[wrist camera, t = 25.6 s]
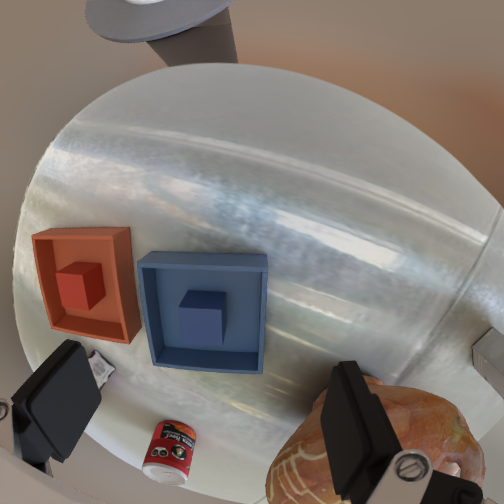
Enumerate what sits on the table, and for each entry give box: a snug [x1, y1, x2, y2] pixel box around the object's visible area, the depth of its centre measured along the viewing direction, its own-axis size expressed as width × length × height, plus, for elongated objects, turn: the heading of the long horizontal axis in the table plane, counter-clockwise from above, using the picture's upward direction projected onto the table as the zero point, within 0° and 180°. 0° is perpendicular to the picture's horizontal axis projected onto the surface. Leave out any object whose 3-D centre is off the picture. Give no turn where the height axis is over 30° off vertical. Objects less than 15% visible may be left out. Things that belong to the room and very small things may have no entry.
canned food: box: [142, 421, 196, 485], centre depth 37 cm, size 8×8×11 cm
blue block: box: [178, 290, 227, 347], centre depth 32 cm, size 5×5×5 cm
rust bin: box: [32, 227, 141, 344], centre depth 32 cm, size 14×14×5 cm
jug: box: [265, 375, 486, 504], centre depth 25 cm, size 28×28×30 cm
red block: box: [55, 262, 106, 311], centre depth 31 cm, size 5×5×5 cm
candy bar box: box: [87, 350, 115, 390], centre depth 31 cm, size 11×5×16 cm, turn 133°
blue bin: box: [137, 251, 268, 374], centre depth 32 cm, size 14×14×5 cm
